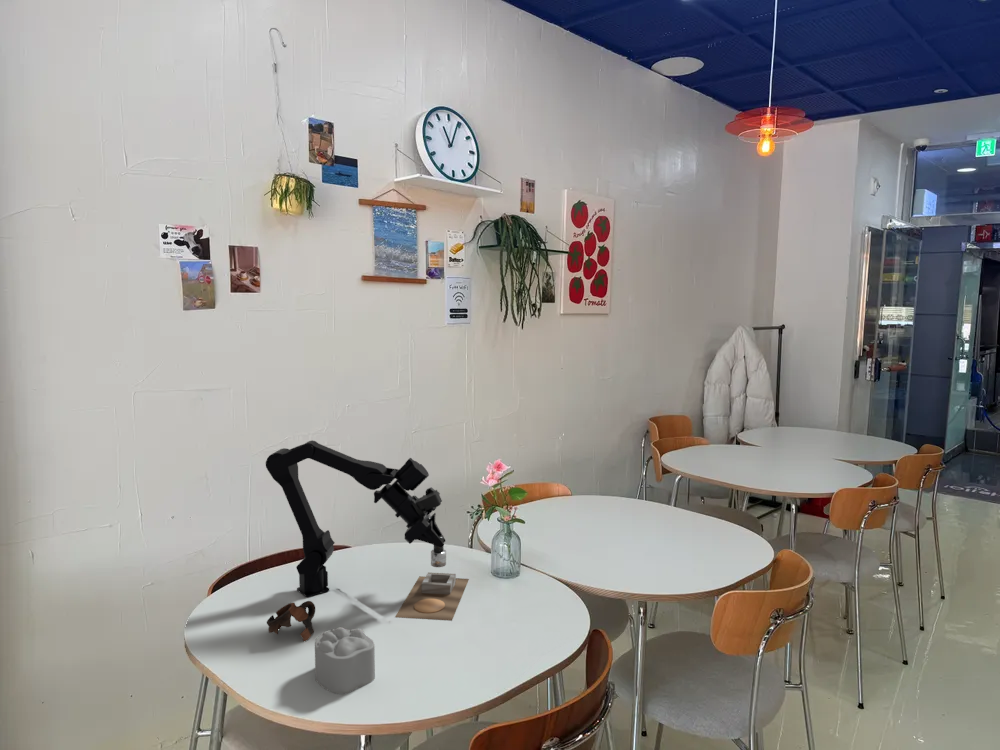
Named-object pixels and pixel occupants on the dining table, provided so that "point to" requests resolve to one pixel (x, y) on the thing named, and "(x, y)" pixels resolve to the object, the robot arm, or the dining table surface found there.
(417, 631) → the dining table surface
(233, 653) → the dining table surface
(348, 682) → the grey paw block
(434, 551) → the nail polish bottle
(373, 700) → the dining table surface
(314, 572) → the robot arm
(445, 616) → the brown wooden board
